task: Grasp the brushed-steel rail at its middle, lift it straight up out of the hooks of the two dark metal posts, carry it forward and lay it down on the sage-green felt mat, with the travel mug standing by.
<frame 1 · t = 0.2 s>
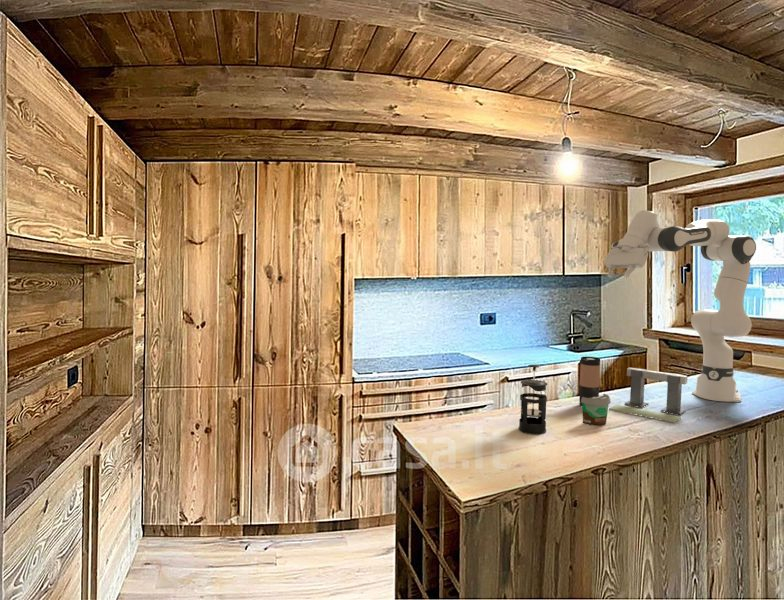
hand: (617, 276, 210), 54 cm above the countertop, tool tilted 30°, fingers open, 8 cm apart
travel mug: (588, 406, 213), on the countertop
posts: (654, 408, 211), on the countertop
food container: (598, 424, 189), on the countertop
mat: (644, 414, 202), on the countertop
rail: (655, 379, 210), point 12 cm above the countertop, touching posts
french press: (533, 430, 181), on the countertop
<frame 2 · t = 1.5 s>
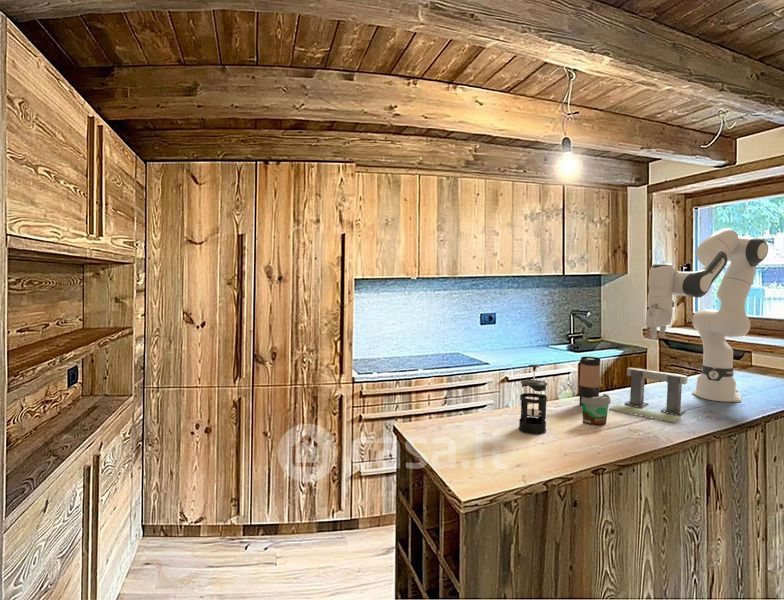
hand: (657, 337, 209), 29 cm above the countertop, tool pointing down, fingers open, 8 cm apart
nothing on the countertop moved.
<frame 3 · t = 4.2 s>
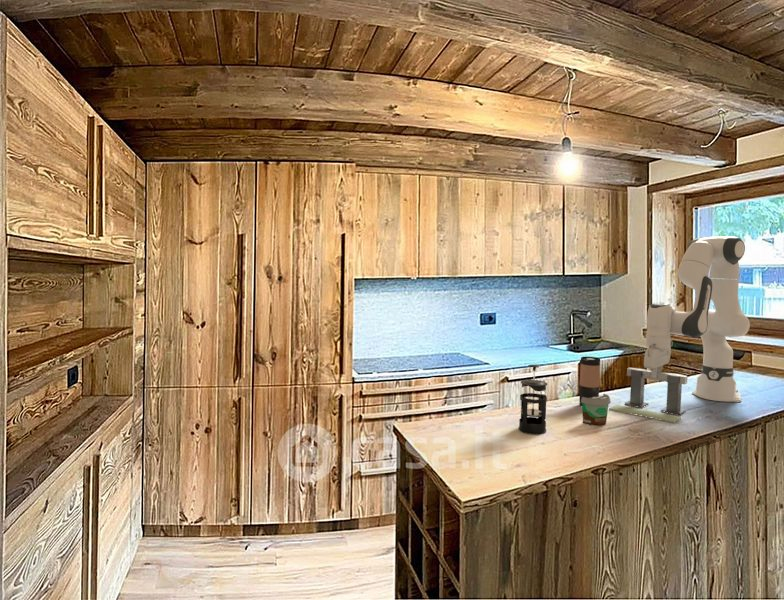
hand: (656, 376, 210), 13 cm above the countertop, tool pointing down, fingers closed on rail, 3 cm apart
rail: (655, 379, 210), point 12 cm above the countertop, touching gripper, posts
everything else where it was.
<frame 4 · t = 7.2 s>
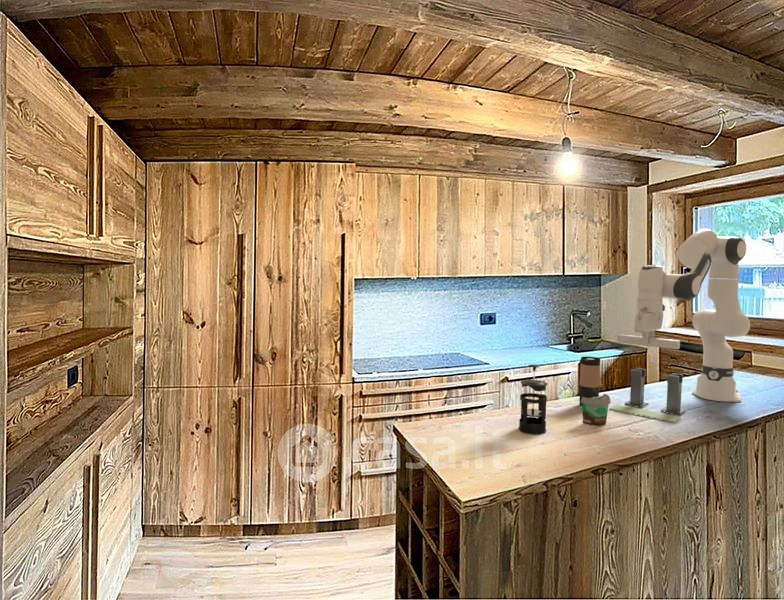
hand: (647, 342, 201), 28 cm above the countertop, tool pointing down, fingers closed on rail, 3 cm apart
rail: (647, 345, 201), point 27 cm above the countertop, touching gripper
everything else where it was.
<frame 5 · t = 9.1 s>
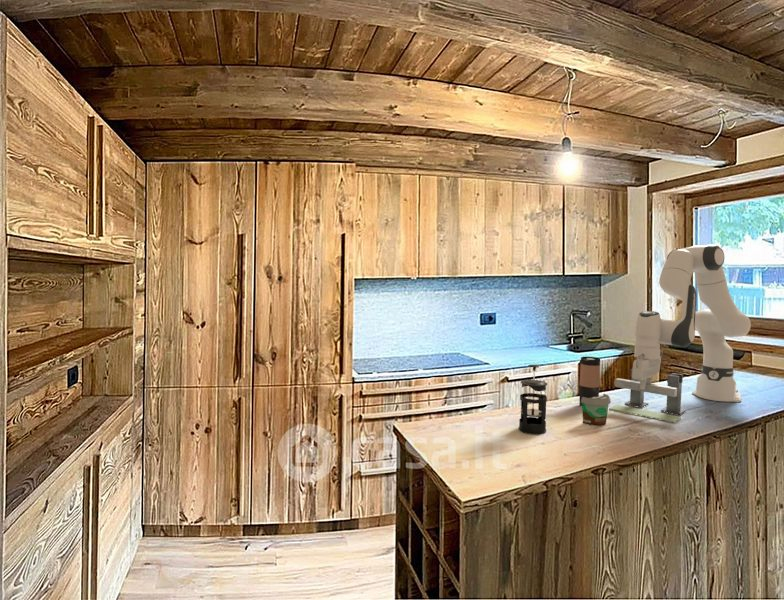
hand: (645, 388, 202), 10 cm above the countertop, tool pointing down, fingers closed on rail, 3 cm apart
rail: (644, 391, 202), point 9 cm above the countertop, touching gripper
everything else where it was.
when the fingers open (3 cm above the countertop, at t = 10.4 s): rail drops 2 cm, resting on mat.
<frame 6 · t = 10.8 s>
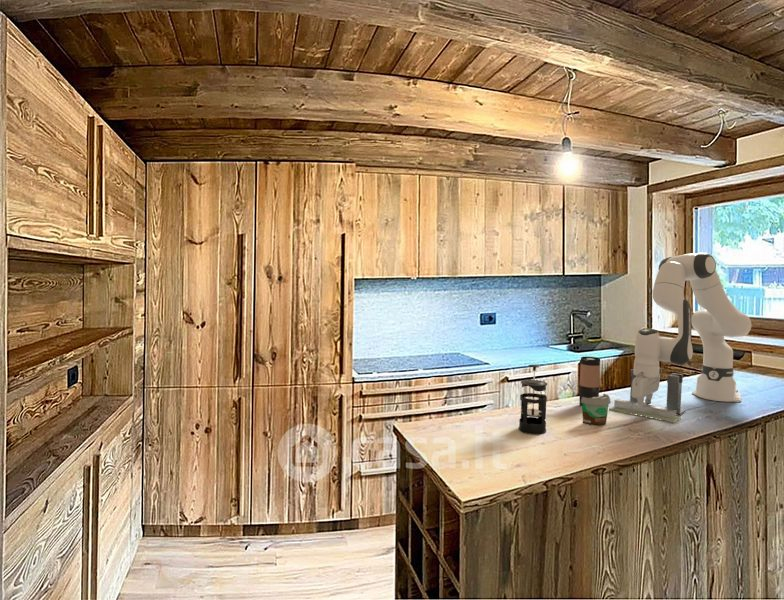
hand: (644, 405, 202), 3 cm above the countertop, tool pointing down, fingers open, 6 cm apart
rail: (644, 412, 202), point 1 cm above the countertop, touching mat
everything else where it was.
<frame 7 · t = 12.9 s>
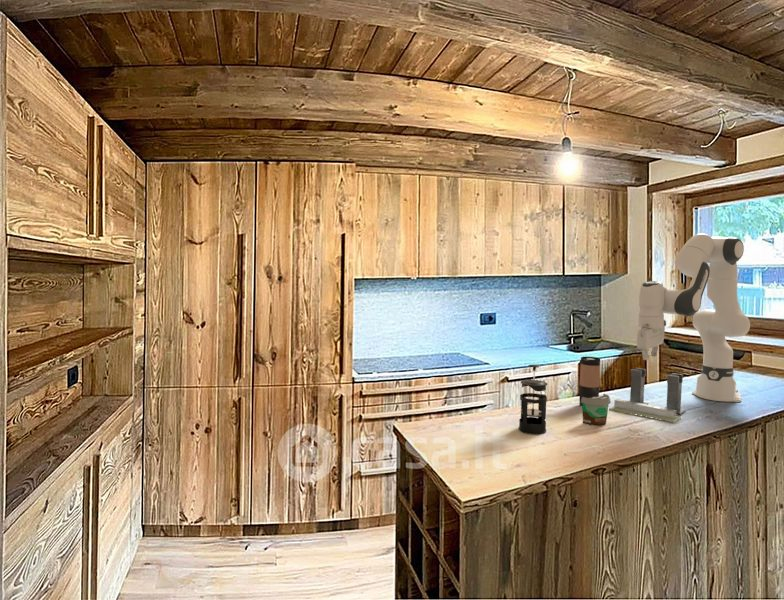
hand: (650, 358, 203), 22 cm above the countertop, tool pointing down, fingers open, 8 cm apart
nothing on the countertop moved.
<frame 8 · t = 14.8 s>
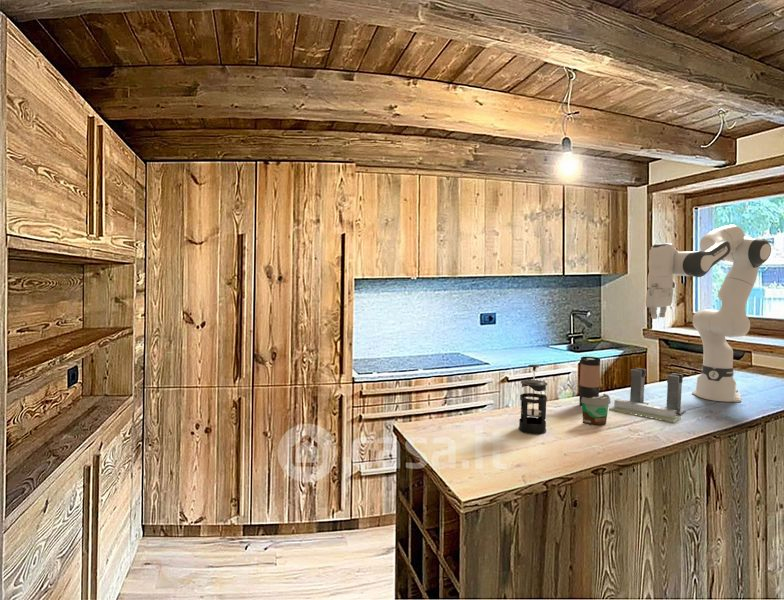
hand: (658, 318, 208), 37 cm above the countertop, tool pointing down, fingers open, 8 cm apart
nothing on the countertop moved.
at the end: rail inside the target area (0.1 cm from its centre), point 0.6 cm above the countertop; rail touching mat; the gripper is holding nothing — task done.
